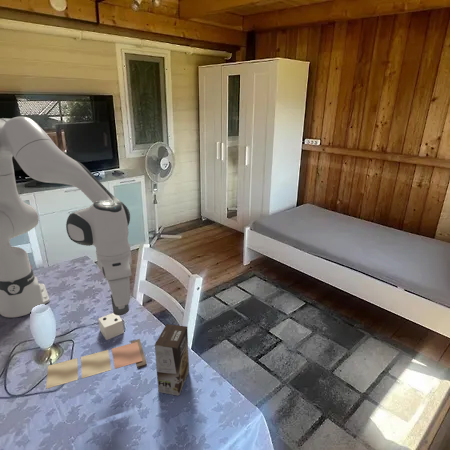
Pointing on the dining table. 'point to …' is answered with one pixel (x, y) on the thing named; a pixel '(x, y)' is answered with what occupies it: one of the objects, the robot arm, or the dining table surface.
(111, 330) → the die
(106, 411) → the dining table surface
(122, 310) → the pawn
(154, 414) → the dining table surface
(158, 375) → the coffee box
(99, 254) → the robot arm
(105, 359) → the game board
